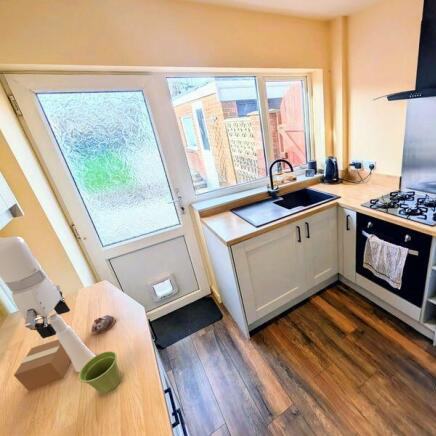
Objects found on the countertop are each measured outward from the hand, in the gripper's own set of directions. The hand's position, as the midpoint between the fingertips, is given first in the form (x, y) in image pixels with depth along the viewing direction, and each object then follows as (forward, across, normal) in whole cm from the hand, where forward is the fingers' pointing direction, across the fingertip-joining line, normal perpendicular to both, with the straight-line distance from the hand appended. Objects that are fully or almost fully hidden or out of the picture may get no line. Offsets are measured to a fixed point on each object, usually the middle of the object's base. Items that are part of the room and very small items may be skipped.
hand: (57, 323), depth 75 cm
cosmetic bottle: (+19, 0, 0) cm, 19 cm away
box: (+19, -2, -10) cm, 21 cm away
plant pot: (+19, +12, +10) cm, 25 cm away
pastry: (+19, -16, +2) cm, 25 cm away
